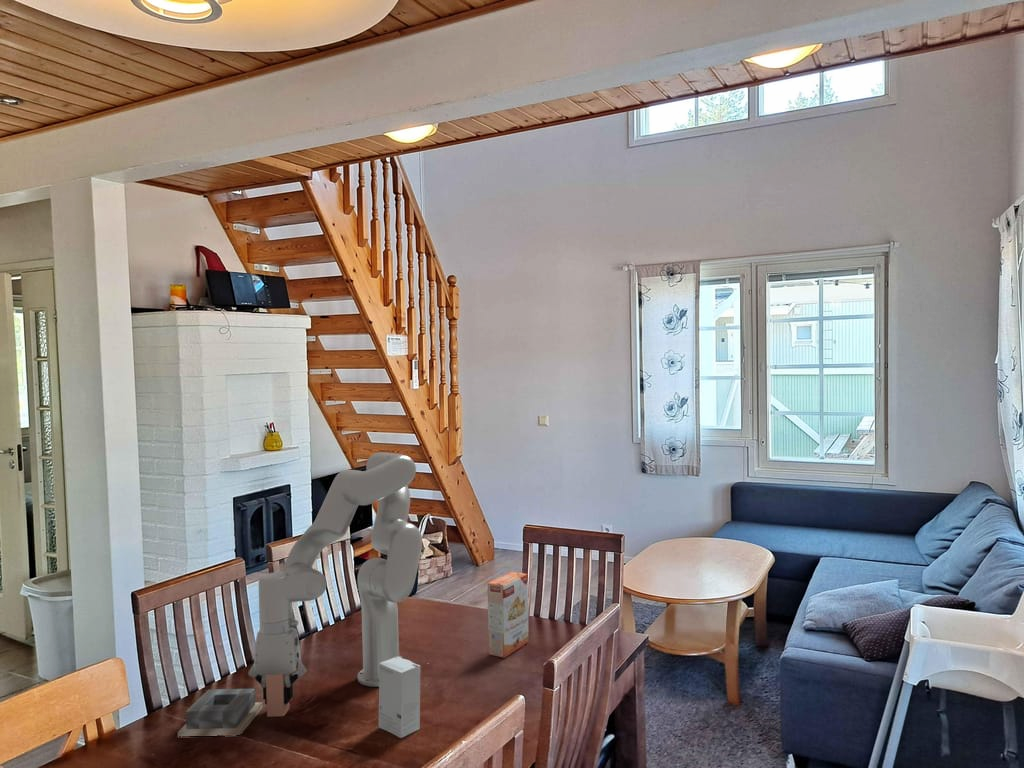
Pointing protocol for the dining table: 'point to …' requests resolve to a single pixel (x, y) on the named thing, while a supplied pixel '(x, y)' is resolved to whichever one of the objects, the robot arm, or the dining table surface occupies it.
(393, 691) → the skincare box
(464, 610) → the dining table surface
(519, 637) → the cracker box
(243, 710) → the socket block
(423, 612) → the dining table surface
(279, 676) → the peg
